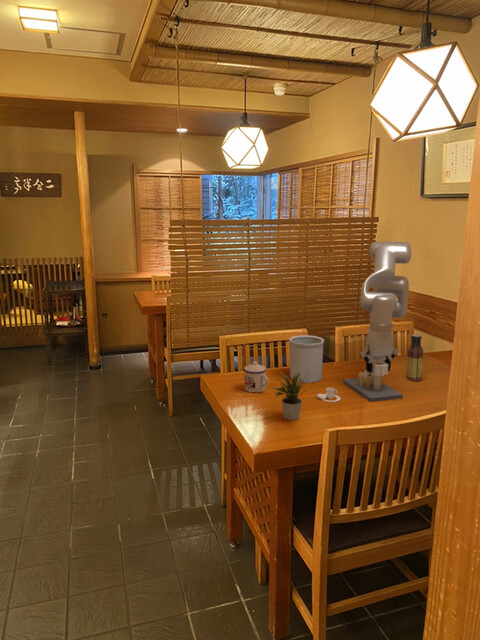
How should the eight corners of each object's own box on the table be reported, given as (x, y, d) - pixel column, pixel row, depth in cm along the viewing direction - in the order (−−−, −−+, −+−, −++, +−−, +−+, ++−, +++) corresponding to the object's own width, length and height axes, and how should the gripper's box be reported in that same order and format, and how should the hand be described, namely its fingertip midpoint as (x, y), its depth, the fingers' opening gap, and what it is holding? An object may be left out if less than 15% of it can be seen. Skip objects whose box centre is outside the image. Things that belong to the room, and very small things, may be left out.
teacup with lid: (238, 388, 187) (239, 361, 185) (254, 383, 193) (255, 357, 191) (259, 397, 178) (259, 368, 176) (275, 391, 184) (276, 363, 182)
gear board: (342, 382, 195) (343, 365, 193) (372, 379, 198) (373, 362, 197) (370, 401, 174) (371, 382, 172) (402, 398, 177) (404, 379, 176)
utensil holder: (299, 385, 191) (301, 345, 187) (282, 375, 204) (283, 337, 201) (329, 380, 197) (331, 341, 193) (310, 370, 210) (311, 333, 207)
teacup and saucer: (315, 400, 176) (316, 390, 175) (319, 393, 183) (320, 384, 182) (338, 404, 173) (339, 394, 172) (342, 396, 180) (342, 387, 179)
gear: (364, 370, 183) (365, 361, 182) (381, 369, 185) (381, 360, 184) (374, 376, 176) (375, 366, 175) (391, 375, 178) (392, 365, 177)
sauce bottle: (419, 377, 202) (423, 333, 198) (423, 382, 196) (427, 337, 192) (404, 376, 202) (407, 333, 198) (407, 381, 196) (411, 336, 192)
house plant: (278, 405, 170) (279, 363, 167) (314, 411, 165) (316, 367, 162) (265, 420, 157) (266, 375, 154) (304, 427, 152) (306, 380, 149)
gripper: (395, 324, 183) (391, 366, 186) (355, 326, 178) (353, 370, 182) (406, 328, 175) (402, 372, 179) (366, 330, 171) (363, 376, 175)
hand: (378, 370), depth 180 cm, fingers closed on gear, 7 cm apart
